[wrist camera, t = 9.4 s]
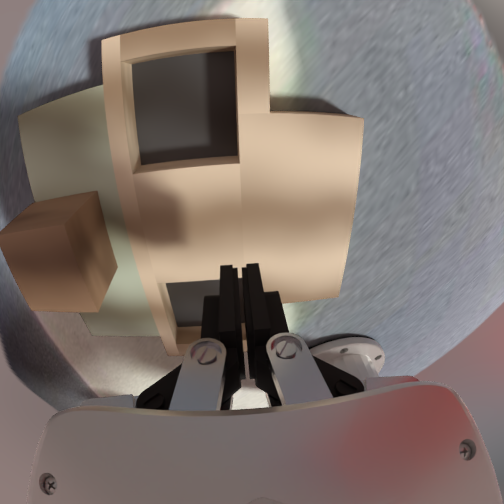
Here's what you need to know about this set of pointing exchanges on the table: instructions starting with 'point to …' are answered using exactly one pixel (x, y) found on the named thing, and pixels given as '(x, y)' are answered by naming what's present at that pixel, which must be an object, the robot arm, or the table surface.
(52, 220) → the walnut block
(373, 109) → the table surface
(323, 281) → the board
